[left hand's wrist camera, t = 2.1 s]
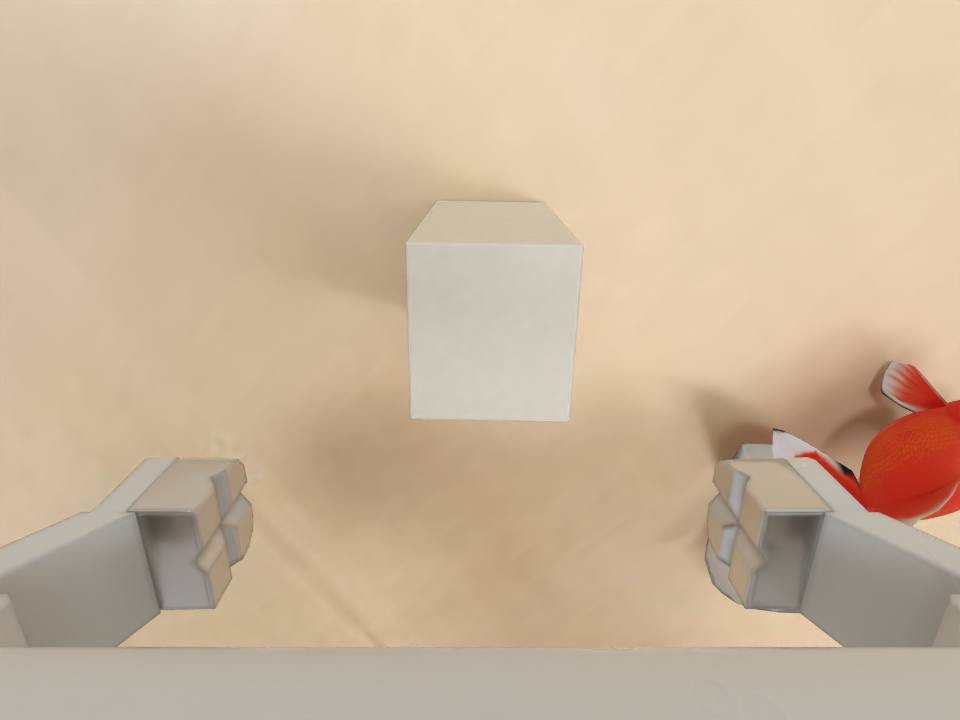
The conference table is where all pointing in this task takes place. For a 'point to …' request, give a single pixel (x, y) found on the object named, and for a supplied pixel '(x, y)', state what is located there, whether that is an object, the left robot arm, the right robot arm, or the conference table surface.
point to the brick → (492, 312)
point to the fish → (884, 461)
